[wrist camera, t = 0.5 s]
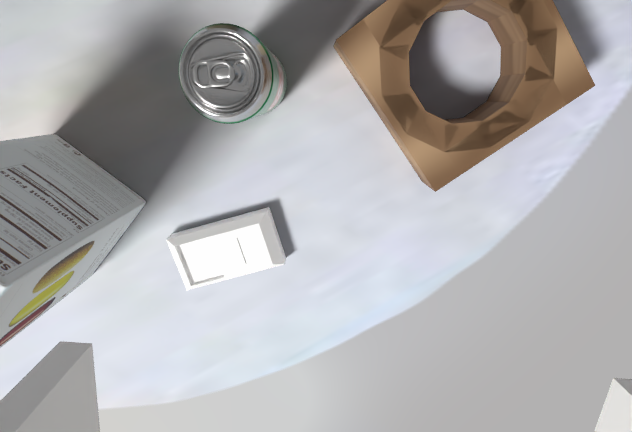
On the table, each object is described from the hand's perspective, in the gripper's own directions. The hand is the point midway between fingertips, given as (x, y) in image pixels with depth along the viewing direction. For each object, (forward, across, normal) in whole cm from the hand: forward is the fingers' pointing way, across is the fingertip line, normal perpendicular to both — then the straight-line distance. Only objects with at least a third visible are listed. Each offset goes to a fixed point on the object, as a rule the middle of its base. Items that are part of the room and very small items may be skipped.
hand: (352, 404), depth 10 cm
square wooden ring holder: (+25, +9, +10) cm, 29 cm away
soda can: (+26, -6, +8) cm, 27 cm away
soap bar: (+26, -8, -6) cm, 28 cm away
